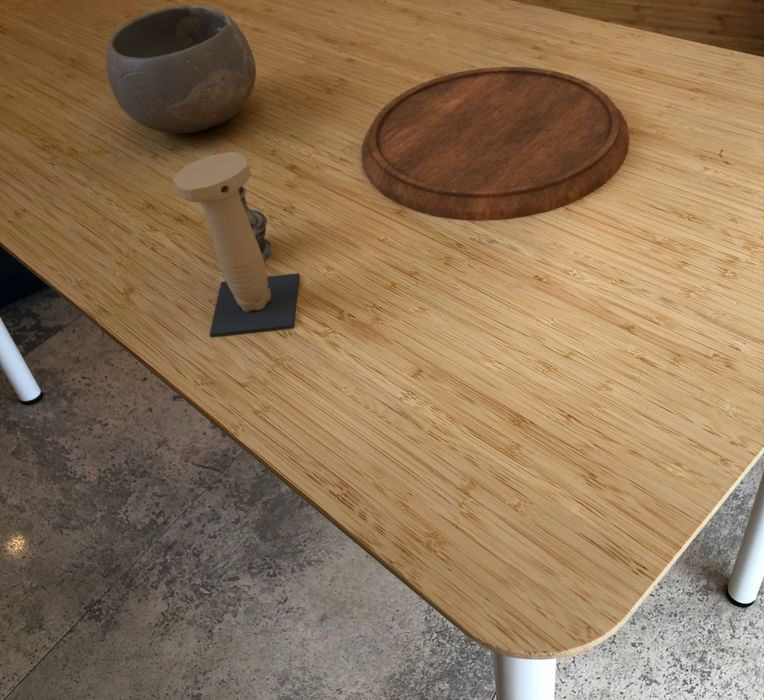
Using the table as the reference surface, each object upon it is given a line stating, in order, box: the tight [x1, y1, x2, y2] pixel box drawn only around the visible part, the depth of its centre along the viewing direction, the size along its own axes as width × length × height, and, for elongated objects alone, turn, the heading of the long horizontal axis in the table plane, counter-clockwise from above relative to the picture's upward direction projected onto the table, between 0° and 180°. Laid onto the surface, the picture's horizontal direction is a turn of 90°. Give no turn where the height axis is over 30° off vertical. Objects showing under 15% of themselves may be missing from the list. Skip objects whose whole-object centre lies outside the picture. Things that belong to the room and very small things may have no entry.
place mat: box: [209, 272, 301, 338], centre depth 83 cm, size 8×8×1 cm
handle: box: [172, 151, 271, 312], centre depth 78 cm, size 5×6×15 cm
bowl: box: [105, 4, 257, 134], centre depth 108 cm, size 18×18×13 cm
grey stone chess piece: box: [209, 152, 273, 262], centre depth 86 cm, size 6×6×12 cm
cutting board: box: [361, 66, 630, 221], centre depth 101 cm, size 32×32×2 cm
